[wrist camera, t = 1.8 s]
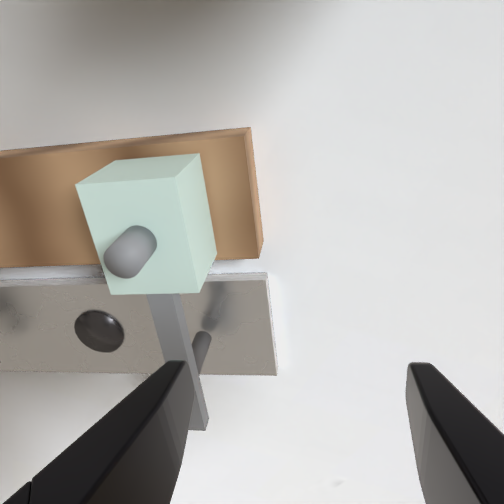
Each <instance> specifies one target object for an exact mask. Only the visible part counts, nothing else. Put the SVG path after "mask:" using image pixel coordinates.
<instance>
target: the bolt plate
mask: <svg viewBox="0 0 504 504" xmlns="http://www.w3.org/2000/svg"><path fill="white" fill-rule="evenodd" d="M180 298H181V302H182V306H183V310H184V315H185V319H186V323H187V327H188V332H189V336H190V340H191V344H192V342H193V339H194V337H195V335H196V333H197V332H199V331H205V332H208V333H209V334H210V335H211V337H212V340H211V343H210V346H209V349H208V352H207V355H206V357H205V360H204V363H203V366H202V369H201V372H200V374H213V375H273V376H277V369H278V363H277V355H276V346H275V337H274V328H273V320H272V311H271V302H270V293H269V284H268V276H267V273H236V274H208V275H207V277H206V279H205V281H204V284H203V286H202V288H201V290H200V292H199V293H180ZM163 364H165V360H164V357H163V353H162V350H161V346H160V343H159V339H158V335H157V332H156V328H155V325H154V321H153V318H152V314H151V310H150V307H149V303H148V300H147V296H146V294H126V295H111V293H110V290H109V287H108V284H107V281H106V278H105V277H98V278H64V279H30V280H0V371H34V372H94V373H154V372H155V371H157V370H158V369H159V368H160V367H161V366H162V365H163Z"/></svg>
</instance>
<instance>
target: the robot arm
mask: <svg viewBox="0 0 504 504" xmlns="http://www.w3.org/2000/svg"><path fill="white" fill-rule="evenodd" d="M194 397H195V388H194V383H193V379H192V375H191V371H190V367H189V364H188V362H187V361H186V360H169V361H167V362H166V363H165V364H163V365H162V366H161V367H160V368H159V369H158V370H157V371H155V372H154V373H153V374H152V375H151V376H150V377H148V378H147V379H146V380H145V381H144V382H143V383H142V384H140V385H139V386H138V387H137V388H136V389H135V390H133V391H132V392H131V393H130V394H129V395H128V396H127V397H125V398H124V399H123V400H122V401H121V402H120V403H118V404H117V405H116V406H115V407H114V408H113V409H112V410H110V411H109V412H108V413H107V414H106V415H105V416H103V417H102V418H101V419H100V420H99V421H98V422H97V423H95V424H94V425H93V426H92V427H91V428H90V429H88V430H87V431H86V432H85V433H84V434H83V435H82V436H80V437H79V438H78V439H77V440H76V441H75V442H73V443H72V444H71V445H70V446H69V447H68V448H67V449H65V450H64V451H63V452H62V453H61V454H60V455H58V456H57V457H56V458H55V459H54V460H53V461H52V462H50V463H49V464H48V465H47V466H46V467H45V468H43V469H42V470H41V471H40V472H39V473H38V474H37V475H35V476H34V477H33V478H32V482H31V481H29V482H27V483H26V484H25V485H24V486H23V487H21V488H20V489H19V490H18V491H17V492H16V493H14V494H13V495H12V496H11V497H10V498H9V499H7V500H6V501H5V502H4V503H3V504H170V501H171V498H172V495H173V491H174V488H175V485H176V481H177V478H178V475H179V471H180V468H181V464H182V459H183V454H184V449H185V444H186V439H187V434H188V428H189V423H190V418H191V413H192V408H193V402H194ZM406 404H407V410H408V416H409V422H410V428H411V434H412V440H413V446H414V452H415V459H416V465H417V470H418V475H419V480H420V484H421V488H422V492H423V495H424V499H425V502H426V504H504V434H503V433H502V432H501V431H500V430H499V429H498V428H497V427H496V426H495V425H494V424H493V423H491V422H490V421H489V420H488V419H487V418H486V417H485V416H484V415H483V414H482V413H481V412H480V411H479V410H478V409H477V408H476V407H475V406H474V405H473V404H472V403H471V402H470V401H469V400H468V399H467V398H466V397H465V396H464V395H463V394H462V393H461V392H460V391H459V390H458V389H457V388H456V387H455V386H454V385H453V384H452V383H451V382H450V381H449V380H448V379H447V378H446V377H445V376H444V375H443V374H441V373H440V372H439V371H438V370H437V369H436V368H435V367H434V366H433V365H432V364H430V363H425V362H412V363H410V364H409V365H408V369H407V381H406Z"/></svg>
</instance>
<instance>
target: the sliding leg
mask: <svg viewBox="0 0 504 504" xmlns="http://www.w3.org/2000/svg"><path fill="white" fill-rule="evenodd" d="M75 186H76V189H77V192H78V195H79V198H80V201H81V205H82V208H83V211H84V214H85V217H86V220H87V223H88V226H89V229H90V232H91V235H92V238H93V241H94V244H95V247H96V250H97V253H98V256H99V260H100V263H101V266H102V269H103V272H104V275H105V278H106V281H107V284H108V287H109V290H110V293H111V295H126V294H146V296H147V300H148V303H149V307H150V310H151V314H152V318H153V321H154V325H155V328H156V332H157V335H158V339H159V343H160V346H161V350H162V353H163V357H164V360H165V363H166V362H167V361H169V360H186V361H187V362H188V364H189V367H190V371H191V375H192V379H193V383H194V388H195V397H194V402H193V408H192V413H191V418H190V423H189V428H188V430H202V431H205V430H206V427H207V423H208V419H209V417H208V413H207V408H206V404H205V400H204V396H203V391H202V387H201V383H200V379H199V375H200V372H201V369H202V366H203V363H204V360H205V357H206V355H207V352H208V349H209V346H210V343H211V340H212V337H211V335H210V334H209V333H208V332H205V331H199V332H197V333H196V335H195V337H194V339H193V342H192V344H191V340H190V336H189V332H188V327H187V323H186V319H185V315H184V310H183V306H182V302H181V298H180V293H199V292H200V290H201V288H202V286H203V284H204V281H205V279H206V277H207V275H208V273H209V270H210V268H211V266H212V264H213V262H214V260H215V257H216V255H217V250H216V244H215V239H214V233H213V227H212V221H211V216H210V210H209V204H208V199H207V193H206V187H205V181H204V176H203V170H202V164H201V159H200V153H195V154H184V155H172V156H160V157H148V158H137V159H125V160H115V161H113V162H112V163H110V164H108V165H107V166H105V167H103V168H102V169H100V170H98V171H97V172H95V173H93V174H92V175H90V176H88V177H87V178H85V179H83V180H82V181H80V182H78V183H77V184H75Z"/></svg>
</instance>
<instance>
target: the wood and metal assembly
mask: <svg viewBox="0 0 504 504" xmlns="http://www.w3.org/2000/svg"><path fill="white" fill-rule="evenodd" d="M195 153H200V159H201V164H202V170H203V176H204V181H205V187H206V193H207V199H208V204H209V210H210V216H211V221H212V227H213V233H214V239H215V244H216V250H217V255H216V257H215V260H228V259H256V258H259V256H260V252H261V248H262V245H263V232H262V223H261V214H260V206H259V197H258V188H257V179H256V171H255V162H254V153H253V144H252V136H251V127H247V128H236V129H226V130H215V131H205V132H194V133H184V134H173V135H163V136H152V137H141V138H131V139H120V140H110V141H99V142H89V143H78V144H68V145H57V146H46V147H36V148H25V149H15V150H4V151H0V268H3V267H31V266H60V265H88V264H101V263H100V260H99V256H98V253H97V250H96V247H95V244H94V241H93V238H92V235H91V232H90V229H89V226H88V223H87V220H86V217H85V214H84V211H83V208H82V205H81V201H80V198H79V195H78V192H77V189H76V186H75V184H77V183H78V182H80V181H82V180H83V179H85V178H87V177H88V176H90V175H92V174H93V173H95V172H97V171H98V170H100V169H102V168H103V167H105V166H107V165H108V164H110V163H112V162H113V161H115V160H125V159H137V158H148V157H160V156H172V155H184V154H195Z"/></svg>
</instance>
